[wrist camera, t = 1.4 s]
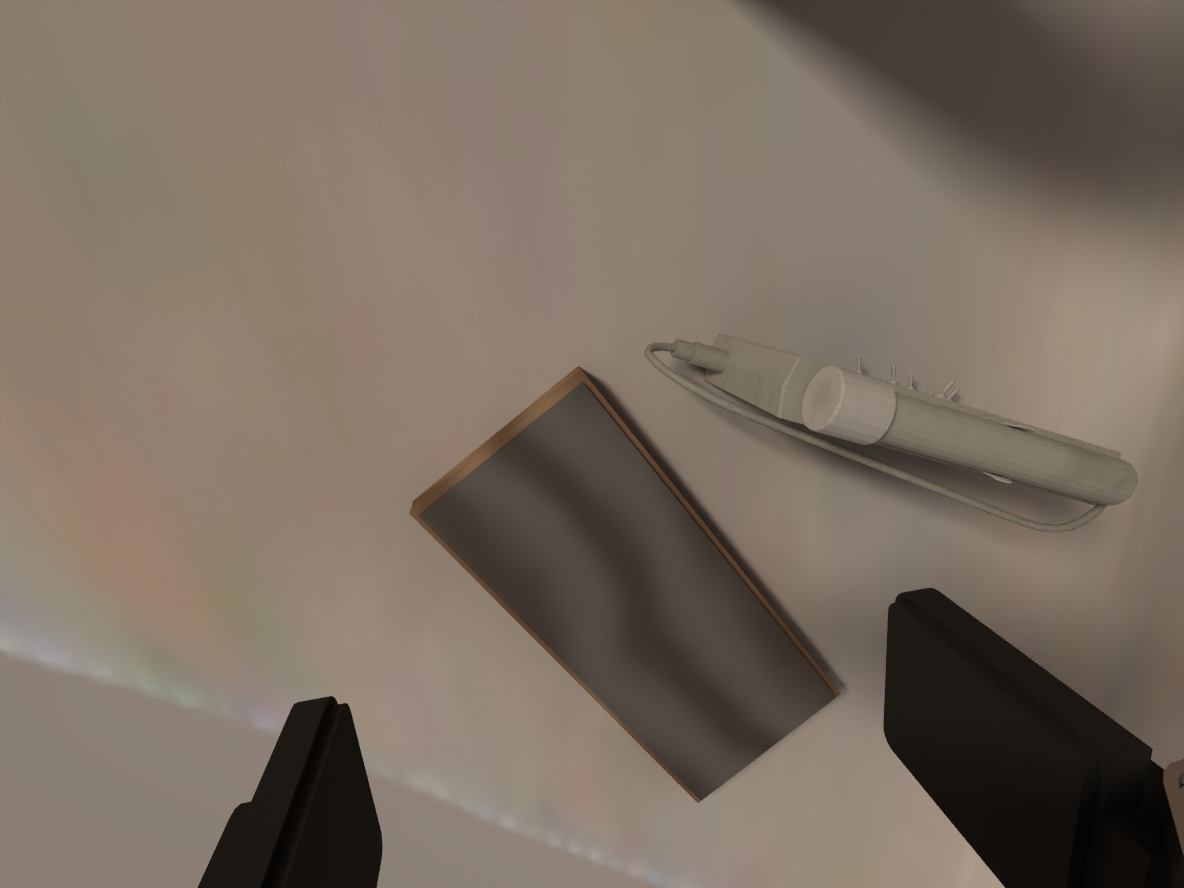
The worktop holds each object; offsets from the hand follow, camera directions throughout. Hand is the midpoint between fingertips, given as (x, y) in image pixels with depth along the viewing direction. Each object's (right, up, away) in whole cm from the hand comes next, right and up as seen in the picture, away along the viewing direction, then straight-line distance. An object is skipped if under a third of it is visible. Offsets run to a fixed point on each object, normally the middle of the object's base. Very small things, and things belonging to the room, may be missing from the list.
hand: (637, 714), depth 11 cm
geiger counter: (+13, +8, +31) cm, 35 cm away
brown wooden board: (+2, -6, +33) cm, 33 cm away
